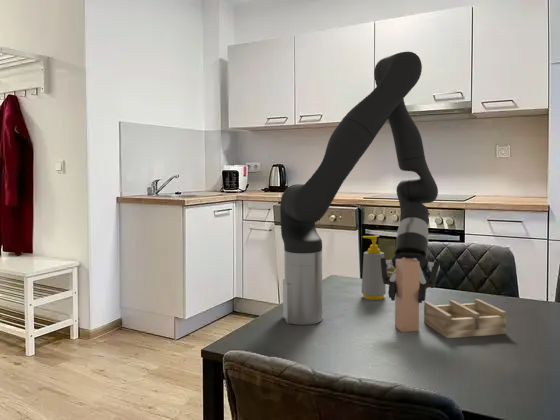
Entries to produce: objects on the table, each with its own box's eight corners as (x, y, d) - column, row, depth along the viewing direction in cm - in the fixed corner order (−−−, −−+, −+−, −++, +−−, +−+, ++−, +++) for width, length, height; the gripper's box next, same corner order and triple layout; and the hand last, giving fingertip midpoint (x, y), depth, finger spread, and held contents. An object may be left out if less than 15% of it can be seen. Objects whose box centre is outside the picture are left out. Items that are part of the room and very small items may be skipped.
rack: (447, 338, 104) (447, 315, 103) (423, 322, 114) (424, 301, 114) (505, 333, 106) (506, 311, 105) (477, 318, 117) (478, 298, 116)
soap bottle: (356, 295, 139) (357, 234, 138) (378, 293, 141) (378, 233, 140) (368, 301, 133) (368, 237, 131) (390, 299, 135) (391, 236, 133)
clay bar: (402, 332, 108) (402, 262, 106) (395, 326, 112) (395, 259, 110) (418, 330, 108) (419, 261, 107) (411, 325, 112) (411, 258, 111)
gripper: (381, 229, 118) (372, 288, 107) (442, 232, 113) (439, 294, 102) (384, 247, 123) (376, 305, 113) (442, 250, 118) (439, 311, 108)
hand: (406, 299), depth 108 cm, fingers closed on clay bar, 5 cm apart
